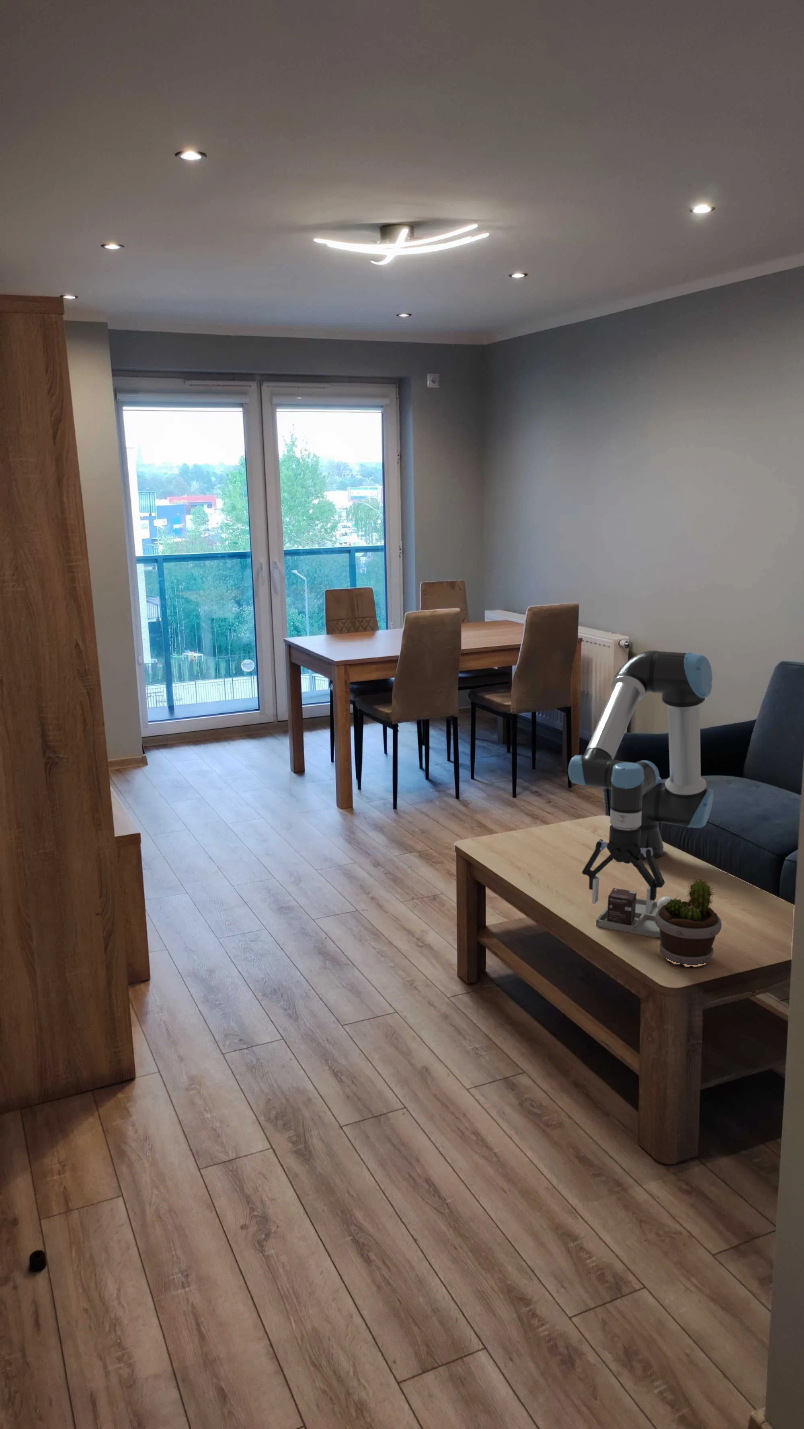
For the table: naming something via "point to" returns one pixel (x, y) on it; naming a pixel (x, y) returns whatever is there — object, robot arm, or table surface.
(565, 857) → the table surface
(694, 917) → the flowerpot
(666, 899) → the egg
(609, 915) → the box
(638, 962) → the table surface
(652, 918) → the egg tray
